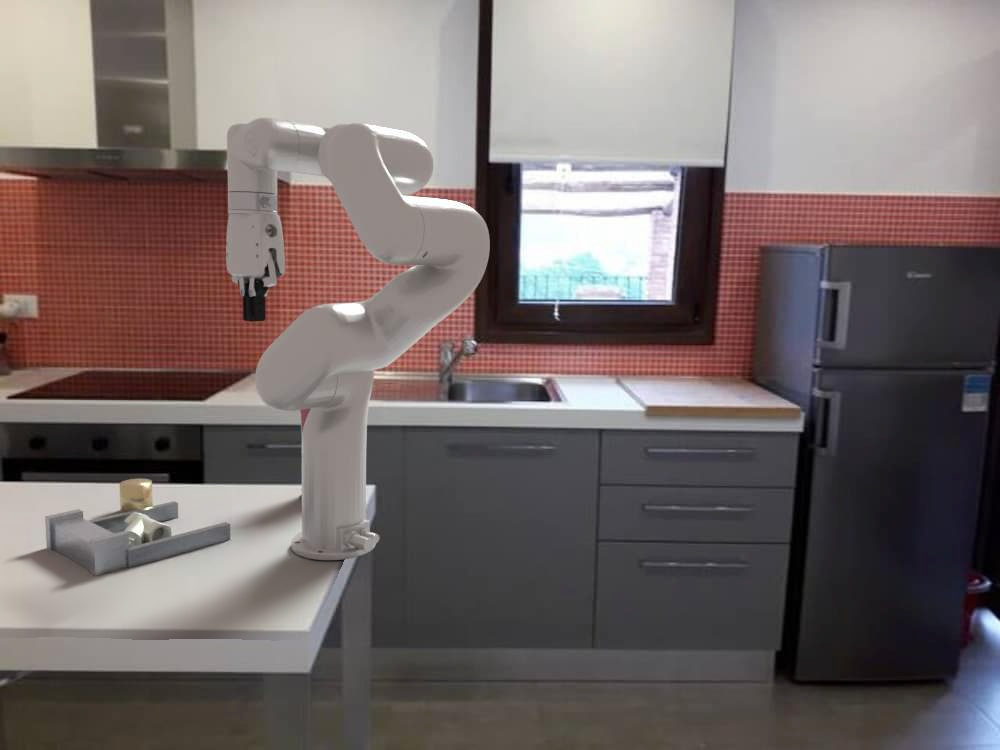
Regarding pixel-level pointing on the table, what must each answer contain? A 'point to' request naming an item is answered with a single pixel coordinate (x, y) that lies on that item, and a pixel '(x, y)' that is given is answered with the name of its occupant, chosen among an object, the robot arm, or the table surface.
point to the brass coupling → (135, 494)
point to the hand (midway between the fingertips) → (254, 320)
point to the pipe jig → (122, 539)
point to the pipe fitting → (144, 529)
